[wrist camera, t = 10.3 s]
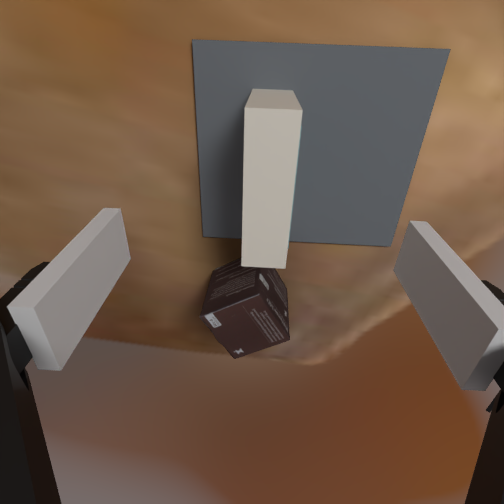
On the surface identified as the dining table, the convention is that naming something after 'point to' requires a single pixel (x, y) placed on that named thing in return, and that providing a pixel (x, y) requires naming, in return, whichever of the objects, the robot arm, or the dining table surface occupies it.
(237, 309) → the box
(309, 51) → the mat
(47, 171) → the dining table surface
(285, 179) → the light grey flat block
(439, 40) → the dining table surface
